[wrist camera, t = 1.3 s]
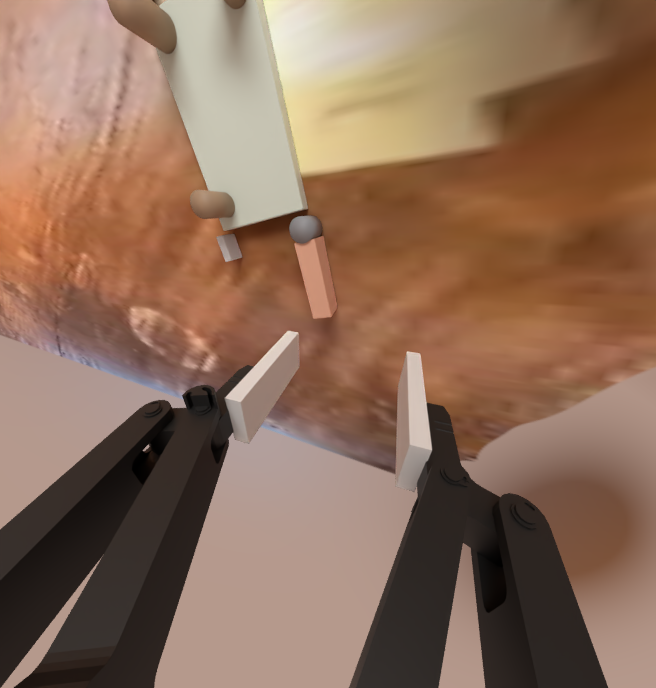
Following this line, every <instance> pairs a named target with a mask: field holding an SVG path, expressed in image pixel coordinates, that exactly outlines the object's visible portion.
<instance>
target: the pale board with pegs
mask: <svg viewBox="0 0 656 688" xmlns="http://www.w3.org/2000/svg"><path fill="white" fill-rule="evenodd" d="M107 1H108V4H109V7H110V10H111V12H112V14H113V16H114V18H115V19H116V20H117V21H118V23H120V24H121V25H122V26H124V27H125V28H127V29H128V30H130V31H131V32H133V33H135V34H136V35H138V36H139V37H141V38H142V39H144V40H145V41H147V42H148V43H150V44H151V45H153V46H154V47H156V50H157V53H158V55H159V58H160V61H161V63H162V66H163V69H164V71H165V74H166V77H167V79H168V82H169V85H170V87H171V90H172V93H173V96H174V98H175V101H176V104H177V106H178V109H179V112H180V114H181V117H182V120H183V122H184V125H185V128H186V131H187V133H188V136H189V139H190V141H191V144H192V147H193V149H194V152H195V155H196V157H197V160H198V163H199V166H200V168H201V171H202V174H203V176H204V179H205V182H206V184H207V187H208V190H209V191H206V190H195V191H193V192H192V194H191V196H190V204H191V207H192V210H193V211H194V213H195V214H196V215H197V216H198V217H200V218H202V219H211V218H219V219H220V222H221V225H222V227H223V230H224V231H226V230H233V229H237V228H240V227H244V226H248V225H251V224H255V223H259V222H262V221H266V220H270V219H273V218H277V217H281V216H284V215H288V214H292V213H295V212H299V211H303V210H306V209H308V206H307V201H306V197H305V192H304V187H303V183H302V178H301V174H300V169H299V164H298V160H297V155H296V151H295V146H294V141H293V137H292V132H291V128H290V123H289V118H288V114H287V109H286V105H285V100H284V95H283V91H282V86H281V82H280V77H279V72H278V68H277V63H276V59H275V54H274V49H273V45H272V40H271V36H270V31H269V26H268V22H267V17H266V13H265V8H264V3H263V0H166V1H165V2H164V3H162V4H161V5H160V6H158V5H157V4H155V3H154V2H153V1H152V0H107ZM216 238H217V240H218V243H219V246H220V248H221V251H222V253H223V256H224V258H225V261H226V262H227V261H232V260H235V259H239V258H242V254H241V251H240V248H239V246H238V243H237V240H236V237H235V234H229V235H222V236H218V237H216Z"/></svg>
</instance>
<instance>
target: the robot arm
mask: <svg viewBox="0 0 656 688" xmlns="http://www.w3.org/2000/svg"><path fill="white" fill-rule="evenodd" d="M298 368H299V333H298V332H292V331H287V332H286V333H285V334H284V335H283V337H282V338H281V339H280V340H279V341H278V342H277V343H276V344H275V345H274V346H273V347H272V348H271V349H270V350H269V351H268V353H267V354H266V355H265V356H264V357H263V358H262V359H261V360H260V361H259V362H258V363H257V364H256V365H255V366H249V365H247V366H245V367H243V368H241V369H240V370H238V371H237V372H236V373H235V374H234V375H233V377H231V378H230V379H229V380H228V382H226V383H225V384H224V385H223V386H222V387H221V388H220V389H219V390H218V391H217V392H215V390H214V388H213V387H211V386H208V385H201V386H196V387H194V388H191V389H190V390H188V391H186V392H185V393H184V394H183V395H182V396H183V399H184V402H185V404H186V407H187V408H172V407H171V405H170V403H169V402H168V401H165V400H158V401H153V402H150V403H148V404H146V405H144V406H143V407H142V408H140V409H139V410H137V411H136V412H135V413H134V414H133V415H132V416H130V417H129V418H128V419H127V420H126V421H125V422H124V423H123V424H121V425H120V426H119V427H118V428H117V429H116V430H114V431H113V432H112V433H111V434H110V435H109V436H108V437H106V438H105V439H104V440H103V441H102V442H101V443H100V444H98V445H97V446H96V447H95V448H94V449H92V450H91V452H89V453H88V454H87V455H86V456H85V457H83V458H82V459H81V460H80V461H79V462H78V463H76V464H75V465H74V466H73V467H72V468H71V469H69V470H68V471H67V472H66V473H65V474H64V475H63V476H61V477H60V478H59V479H58V480H57V481H56V482H54V483H53V484H52V485H51V486H50V487H49V488H48V489H47V490H45V491H44V492H43V493H42V494H41V495H40V496H38V497H37V498H36V499H35V500H34V501H33V502H32V503H30V504H29V505H28V506H27V507H26V508H25V509H23V510H22V511H21V512H20V513H19V514H18V515H17V516H15V517H14V518H13V519H12V520H11V521H10V522H8V523H7V524H6V525H5V526H4V527H3V528H2V529H1V530H0V688H1V687H2V685H3V684H4V683H5V681H6V680H7V679H8V677H9V676H10V675H11V674H12V672H13V671H14V670H15V668H16V667H17V666H18V665H19V663H20V662H21V661H22V659H23V658H24V657H25V655H26V654H27V653H28V651H29V650H30V649H31V648H32V646H33V645H34V644H35V643H36V641H37V640H38V639H39V637H40V636H41V635H42V633H43V632H44V631H45V629H46V628H47V627H48V626H49V624H50V623H51V622H52V621H53V619H54V618H55V617H56V615H57V614H58V613H59V611H60V610H61V609H62V607H63V606H64V605H65V604H66V602H67V601H68V600H69V598H70V597H71V596H72V595H73V593H74V592H75V591H76V589H77V588H78V587H79V586H80V584H81V583H82V582H83V580H84V579H85V578H86V576H87V575H88V574H89V573H90V571H91V570H92V569H93V567H94V566H95V565H96V564H97V562H98V561H99V560H100V558H101V557H102V556H103V557H102V558H101V560H100V562H99V564H98V565H97V567H96V569H95V570H94V572H93V574H92V576H91V577H90V579H89V581H88V583H87V584H86V586H85V588H84V590H83V591H82V593H81V595H80V597H79V598H78V600H77V602H76V603H75V605H74V607H73V609H72V610H71V612H70V614H69V615H68V617H67V619H66V621H65V623H64V624H63V626H62V628H61V630H60V631H59V633H58V635H57V636H56V638H55V640H54V642H53V643H52V645H51V647H50V649H49V650H48V652H47V654H46V655H45V657H44V658H43V660H42V661H41V663H40V664H39V666H38V667H37V668H36V669H35V670H34V671H33V672H32V673H31V674H30V675H29V676H28V677H27V678H25V679H24V680H23V681H22V682H20V683H19V684H18V685H16V686H15V687H14V688H154V682H155V676H156V672H157V668H158V665H159V662H160V658H161V655H162V652H163V649H164V646H165V643H166V640H167V637H168V634H169V631H170V627H171V624H172V621H173V618H174V615H175V612H176V609H177V606H178V602H179V599H180V596H181V593H182V590H183V587H184V584H185V581H186V577H187V574H188V571H189V568H190V565H191V562H192V559H193V556H194V552H195V549H196V546H197V543H198V540H199V537H200V534H201V531H202V528H203V524H204V521H205V518H206V515H207V512H208V509H209V506H210V503H211V499H212V496H213V493H214V490H215V487H216V484H217V481H218V477H219V474H220V471H221V468H222V465H223V462H224V459H225V456H226V453H227V449H228V446H229V440H228V438H229V437H230V435H231V434H232V433H234V438H235V440H238V441H241V442H244V443H248V444H249V443H250V441H251V440H252V438H253V437H254V435H255V434H256V432H257V431H258V429H259V428H260V426H261V425H262V423H263V422H264V420H265V419H266V417H267V415H268V414H269V412H270V411H271V409H272V408H273V406H274V405H275V403H276V402H277V400H278V399H279V397H280V396H281V394H282V392H283V391H284V389H285V388H286V386H287V385H288V383H289V382H290V380H291V379H292V377H293V376H294V374H295V373H296V371H297V370H298ZM451 425H452V424H451V419H450V415H449V414H448V412H447V411H446V409H445V408H444V407H443V406H440V405H435V404H430V403H426V396H425V388H424V380H423V371H422V363H421V355H420V353H414V352H408V351H407V353H406V357H405V361H404V365H403V369H402V373H401V377H400V381H399V384H398V404H397V443H396V481H395V486H396V487H399V488H402V489H406V490H409V491H413V492H414V491H415V489H416V487H417V490H418V498H417V500H416V502H415V504H414V506H413V509H412V511H411V512H412V513H411V516H410V519H409V522H408V524H407V527H406V530H405V533H404V536H403V538H402V541H401V544H400V547H399V550H398V552H397V555H396V558H395V561H394V564H393V567H392V569H391V572H390V575H389V578H388V580H387V583H386V586H385V589H384V592H383V594H382V597H381V600H380V603H379V606H378V608H377V611H376V614H375V617H374V620H373V623H372V625H371V628H370V631H369V634H368V636H367V639H366V642H365V645H364V648H363V650H362V653H361V656H360V659H359V661H358V664H357V667H356V670H355V673H354V676H353V678H352V681H351V684H350V687H349V688H438V686H439V680H440V674H441V668H442V663H443V657H444V651H445V645H446V639H447V633H448V627H449V621H450V615H451V609H452V603H453V598H454V591H455V585H456V580H457V573H458V568H459V562H460V556H461V550H462V544H463V543H464V544H466V545H467V546H469V547H470V548H471V555H472V564H473V574H474V582H475V583H474V584H475V593H476V603H477V612H478V621H479V631H480V641H481V650H482V659H483V669H484V679H485V688H608V686H607V683H606V680H605V678H604V675H603V672H602V669H601V667H600V664H599V661H598V658H597V655H596V653H595V650H594V647H593V644H592V642H591V639H590V636H589V633H588V631H587V628H586V625H585V623H584V620H583V617H582V614H581V611H580V609H579V606H578V603H577V600H576V597H575V595H574V592H573V589H572V586H571V584H570V581H569V578H568V575H567V573H566V570H565V567H564V564H563V562H562V559H561V556H560V553H559V551H558V548H557V545H556V542H555V540H554V537H553V534H552V531H551V528H550V526H549V524H548V522H547V520H546V519H545V516H544V515H543V514H542V513H541V512H540V510H539V509H538V508H537V507H536V506H535V505H533V504H532V503H531V502H529V501H528V500H527V499H525V498H523V497H521V496H519V495H516V494H510V493H508V494H504V495H502V496H501V497H499V496H497V495H495V494H493V493H492V492H490V491H488V490H486V489H484V488H482V487H481V486H479V485H478V484H476V483H475V482H474V481H473V480H471V478H470V477H469V474H468V473H467V472H466V471H465V469H464V468H463V467H462V466H461V463H460V459H459V454H458V450H457V446H456V441H455V437H454V434H453V428H452V426H451ZM148 444H149V446H150V447H149V448H148V449H147V450H146V451H144V452H143V449H144V448H145V447H146V446H147V445H148ZM103 554H104V555H103Z"/></svg>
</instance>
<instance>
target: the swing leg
mask: <svg viewBox="0 0 656 688" xmlns="http://www.w3.org/2000/svg"><path fill="white" fill-rule="evenodd" d="M289 230H290V235H291V237H292V238H293V240H294V241H296V242H297V243H294V244H295V248H296V252H297V256H298V260H299V264H300V268H301V272H302V276H303V280H304V284H305V287H306V291H307V295H308V299H309V303H310V307H311V311H312V315H313V319H315V318H325V317H332V315H333V314H334V312H335V311H336V309H337V307H338V306H337V301H336V296H335V291H334V287H333V282H332V277H331V272H330V267H329V262H328V257H327V252H326V247H325V242H324V237H323V236H321V237H320V235H321V233H322V224H321V221H320V220H319V219H318V218H317V217H315V216H299V217H296V218H294V219H293V220H292V221H291V223H290V228H289Z"/></svg>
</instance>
